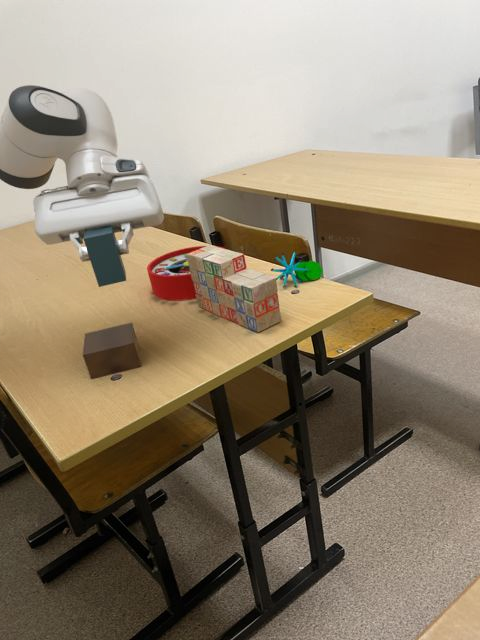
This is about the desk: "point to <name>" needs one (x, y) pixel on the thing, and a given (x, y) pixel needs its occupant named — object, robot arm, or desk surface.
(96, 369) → the walnut block
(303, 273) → the stick construction toy
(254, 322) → the stack of blocks
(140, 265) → the desk surface
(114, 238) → the teal block
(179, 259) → the toy clock
